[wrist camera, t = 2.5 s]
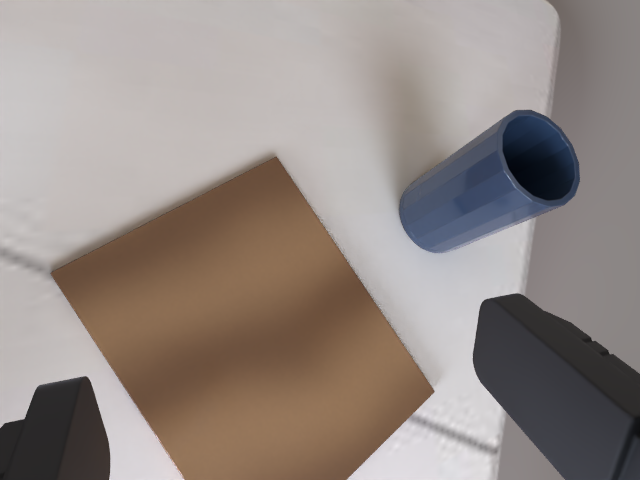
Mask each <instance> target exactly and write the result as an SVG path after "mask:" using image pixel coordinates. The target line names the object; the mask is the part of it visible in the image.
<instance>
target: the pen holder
mask: <svg viewBox="0 0 640 480" xmlns="http://www.w3.org/2000/svg"><path fill="white" fill-rule="evenodd" d="M579 182H580V175H579V162H578V159H577V157H576V154H575V151H574V148H573V146H572V144H571V143H570V141H569V140H568V138H567V137H566V135H565V134H564V132H563V131H562V129H560V128H559V127H558V126H557V125H556V124H555V123H554V122H552V121H551V120H550V119H549V118H548V117H546V116H544V115H542V114H540V113H537V112H535V111H532V110H516V111H514V112H512V113H510V114H509V115H507V116H506V117H504V118H503V119H501V120H500V121H499V122H497V123H496V124H494V125H493V126H492V127H490V128H489V129H487V130H486V131H485V132H483V133H482V134H480V135H479V136H478V137H476V138H475V139H473V140H472V141H471V142H469V143H468V144H466V145H465V146H464V147H462V148H461V149H459V150H458V151H456V152H455V153H454V154H452V155H451V156H449V157H448V158H447V159H445V160H444V161H442V162H441V163H440V164H438V165H437V166H435V167H434V168H433V169H431V170H430V171H428V172H427V173H426V174H424V175H423V176H421V177H420V178H419V179H417V180H416V181H414V182H413V183H412V184H411V185H409V186H408V187H407V188H406V189H405V191H404V193H403V195H402V197H401V200H400V207H399V211H400V218H401V222H402V225H403V227H404V229H405V231H406V233H407V234H408V236H409V237H410V238H411V239H412V240H413V242H414V243H416V244H417V245H418V246H420V247H421V248H423V249H425V250H427V251H430V252H433V253H445V252H449V251H451V250H455V249H458V248H460V247H463V246H465V245H468V244H470V243H473V242H475V241H477V240H480V239H482V238H485V237H487V236H490V235H492V234H495V233H497V232H500V231H502V230H504V229H507V228H509V227H512V226H514V225H517V224H519V223H522V222H524V221H526V220H529V219H531V218H534V217H536V216H539V215H541V214H544V213H546V212H548V211H551V210H553V209H556V208H558V207H561V206H563V205H565V204H566V203H567V202H568V201H569V200H571V199H572V198H573V197H574V196H575V194H576V191H577V188H578V185H579Z"/></svg>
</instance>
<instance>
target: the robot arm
mask: <svg viewBox="0 0 640 480" xmlns="http://www.w3.org/2000/svg"><path fill="white" fill-rule="evenodd" d="M473 364H474V368H475V372H476V374H477V376H478V378H479V380H480V382H481V383H482V384H483V386H484V387H485V388H486V389H487V390H488V391H489V392H490V394H491V395H492V396H493V397H494V398H495V399H496V401H497V402H498V403H499V404H500V405H501V406H502V407H503V409H504V410H505V411H506V412H507V413H508V414H509V415H510V417H511V418H512V419H513V420H514V421H515V422H516V423H517V425H518V426H519V427H520V428H521V429H522V430H523V432H524V433H525V434H526V435H527V436H528V437H529V439H530V440H531V441H532V442H533V443H534V444H535V445H536V447H537V448H538V449H539V450H540V451H541V452H542V453H543V455H544V456H545V457H546V458H547V459H548V460H549V462H550V463H551V464H552V465H553V466H554V467H555V469H556V470H557V471H558V472H559V473H560V474H561V475H562V477H563V478H564V479H565V480H640V374H639V373H638V372H636V371H635V370H634V369H632V368H631V367H630V366H628V365H627V364H626V363H624V362H623V361H622V360H620V359H619V358H617V357H616V356H615V355H614V354H611V355H610V354H609V352H608V350H607V349H606V348H604V347H603V346H602V345H600V344H599V343H597V342H596V341H592V340H591V337H589V336H588V335H587V334H585V333H584V332H583V331H581V330H580V329H579V328H577V327H576V326H574V325H573V324H572V323H571V322H568V321H566V320H564V319H562V318H559V317H557V316H555V315H553V314H551V313H548V312H546V311H543V310H542V309H541V308H539V307H538V306H537V305H535V304H534V303H533V302H531V301H530V300H529V299H528V298H526V297H525V296H523V295H521V294H518V293H516V294H510V295H505V296H500V297H495V298H490V299H486V300H484V301H483V302H482V304H481V306H480V311H479V318H478V324H477V331H476V338H475V344H474V351H473ZM109 476H110V449H109V442H108V438H107V434H106V431H105V428H104V424H103V421H102V418H101V414H100V411H99V408H98V404H97V401H96V398H95V394H94V391H93V388H92V385H91V382H90V380H89V378H88V377H86V376H84V377H79V378H74V379H69V380H64V381H59V382H54V383H48V384H43V385H39V386H38V387H37V389H36V390H35V393H34V395H33V398H32V401H31V403H30V406H29V409H28V411H27V414H26V417H25V419H23V420H18V421H13V422H9V423H5V424H4V425H3V426H2V427H1V428H0V480H109Z"/></svg>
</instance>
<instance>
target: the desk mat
mask: <svg viewBox="0 0 640 480" xmlns="http://www.w3.org/2000/svg"><path fill="white" fill-rule="evenodd" d="M51 275H52V277H53V279H54V280H55V282H56V283H57V285H58V286H59V288H60V289H61V291H62V292H63V294H64V295H65V297H66V299H67V300H68V302H69V303H70V305H71V306H72V308H73V309H74V311H75V312H76V314H77V316H78V317H79V319H80V320H81V322H82V323H83V325H84V326H85V328H86V329H87V331H88V332H89V334H90V336H91V337H92V339H93V340H94V342H95V343H96V345H97V346H98V348H99V349H100V351H101V352H102V354H103V356H104V357H105V359H106V360H107V362H108V363H109V365H110V366H111V368H112V369H113V371H114V372H115V374H116V376H117V377H118V379H119V380H120V382H121V383H122V385H123V386H124V388H125V389H126V391H127V392H128V394H129V396H130V397H131V399H132V400H133V402H134V403H135V405H136V406H137V408H138V409H139V411H140V412H141V414H142V416H143V417H144V419H145V420H146V422H147V423H148V425H149V426H150V428H151V429H152V431H153V432H154V434H155V436H156V437H157V439H158V440H159V442H160V443H161V445H162V446H163V448H164V449H165V451H166V452H167V454H168V456H169V457H170V459H171V460H172V462H173V463H174V465H175V466H176V468H177V469H178V471H179V472H180V474H181V476H182V477H183V479H184V480H346V479H348V478H349V477H350V476H351V475H352V474H353V473H354V472H355V471H356V470H357V469H358V468H359V467H360V466H361V465H362V464H363V463H364V462H365V461H366V460H367V459H368V458H369V457H370V456H371V455H372V454H373V453H374V452H375V451H376V450H377V449H378V448H379V447H380V446H381V445H382V444H383V443H384V442H385V441H386V440H387V439H388V438H389V437H390V436H391V435H392V434H393V433H394V432H395V431H396V430H397V429H398V428H399V427H400V426H401V425H402V424H403V423H404V422H405V421H406V420H407V419H408V418H409V417H410V416H411V415H412V414H413V413H414V412H415V411H416V410H417V409H418V408H419V407H420V406H421V405H422V404H423V403H424V402H425V401H426V400H427V399H428V398H429V397H430V396H431V395H432V394H433V393H434V392H435V391H434V390H433V388H432V387H431V385H430V384H429V382H428V381H427V379H426V378H425V376H424V375H423V373H422V372H421V370H420V369H419V367H418V366H417V365H416V363H415V362H414V360H413V359H412V357H411V356H410V354H409V353H408V351H407V350H406V348H405V347H404V345H403V344H402V342H401V341H400V339H399V338H398V336H397V335H396V333H395V332H394V330H393V329H392V327H391V326H390V324H389V323H388V321H387V320H386V318H385V317H384V315H383V314H382V312H381V311H380V310H379V308H378V307H377V305H376V304H375V302H374V301H373V299H372V298H371V296H370V295H369V293H368V292H367V290H366V289H365V287H364V286H363V284H362V283H361V281H360V280H359V278H358V277H357V275H356V274H355V272H354V271H353V269H352V268H351V266H350V265H349V263H348V262H347V260H346V259H345V257H344V256H343V255H342V253H341V252H340V250H339V249H338V247H337V246H336V244H335V243H334V241H333V240H332V238H331V237H330V235H329V234H328V232H327V231H326V229H325V228H324V226H323V225H322V223H321V222H320V220H319V219H318V217H317V216H316V214H315V213H314V211H313V210H312V208H311V207H310V205H309V204H308V202H307V201H306V200H305V198H304V197H303V195H302V194H301V192H300V191H299V189H298V188H297V186H296V185H295V183H294V182H293V180H292V179H291V177H290V176H289V174H288V173H287V171H286V170H285V168H284V167H283V165H282V164H281V162H280V161H279V159H278V158H277V157H275V158H273V159H271V160H269V161H267V162H265V163H263V164H261V165H259V166H257V167H255V168H253V169H251V170H249V171H247V172H246V173H244V174H242V175H240V176H238V177H236V178H234V179H232V180H230V181H228V182H226V183H224V184H222V185H220V186H218V187H216V188H214V189H212V190H211V191H209V192H207V193H205V194H203V195H201V196H199V197H197V198H195V199H193V200H191V201H189V202H187V203H185V204H183V205H181V206H179V207H178V208H176V209H174V210H172V211H170V212H168V213H166V214H164V215H162V216H160V217H158V218H156V219H154V220H152V221H150V222H148V223H146V224H144V225H143V226H141V227H139V228H137V229H135V230H133V231H131V232H129V233H127V234H125V235H123V236H121V237H119V238H117V239H115V240H113V241H111V242H109V243H108V244H106V245H104V246H102V247H100V248H98V249H96V250H94V251H92V252H90V253H88V254H86V255H84V256H82V257H80V258H78V259H76V260H74V261H73V262H71V263H69V264H67V265H65V266H63V267H61V268H59V269H57V270H55V271H53V272H51Z"/></svg>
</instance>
